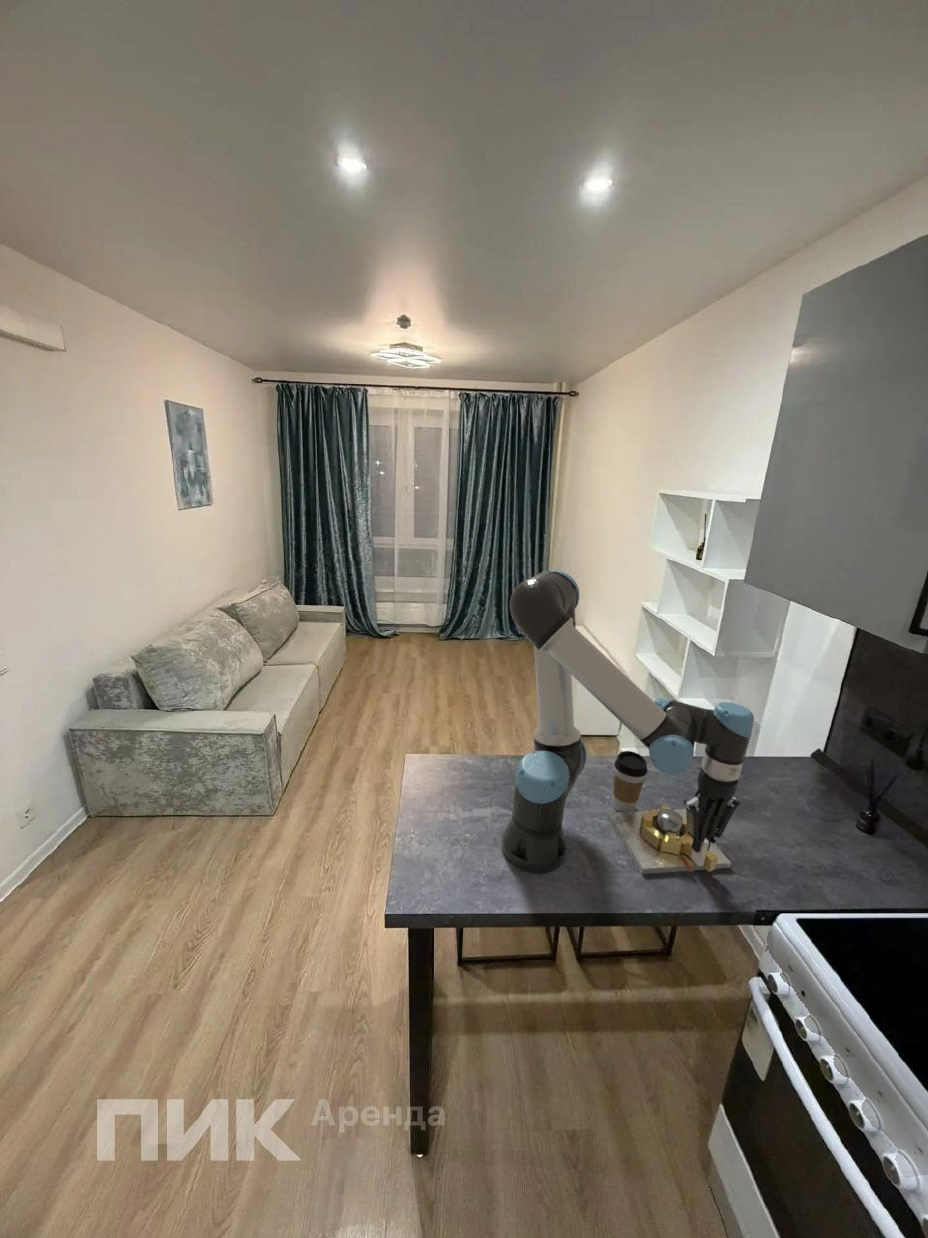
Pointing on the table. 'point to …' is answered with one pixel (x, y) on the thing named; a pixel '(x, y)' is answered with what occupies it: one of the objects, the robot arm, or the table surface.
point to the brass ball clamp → (672, 839)
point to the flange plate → (654, 858)
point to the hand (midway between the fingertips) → (696, 861)
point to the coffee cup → (628, 780)
